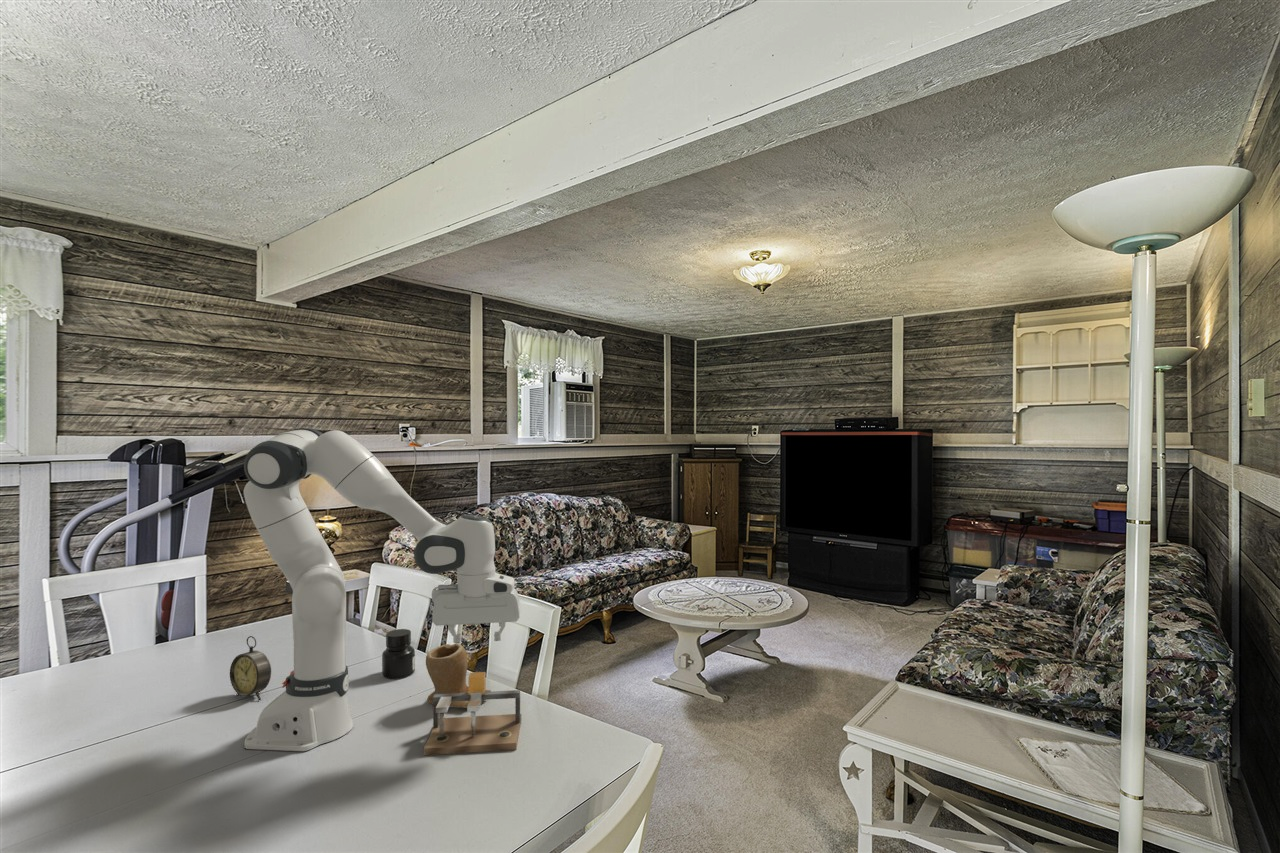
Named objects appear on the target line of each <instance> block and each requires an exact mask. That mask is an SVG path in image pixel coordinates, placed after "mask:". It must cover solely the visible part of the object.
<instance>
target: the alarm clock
mask: <svg viewBox="0 0 1280 853" xmlns="http://www.w3.org/2000/svg"><path fill="white" fill-rule="evenodd" d="M250 638H251V639H253V640H254V646H252V645H251V646H250V645H249V639H250ZM246 644H247V647H248V649H249V650H248V652H244V653H240V654H238V655H236V656H235V658H234V659H233V660H232V662H231V663H230V668H229V680H230V681H229V682H230V684H231V686H232V689H233V691H234V692H236V693H235V694H236V695H235V696H237V694H239V695H238V696H241V697H249V696H251V695H255V696H256V698H257V700H258V701H261V696H260V693H261V692H262V691H263V690H265V689H266V688H267V686H268V685H269V683H270V680H271V677H272V666H271V663H270V660H269V658H268V657H267V655H266V654H264V653H263V652H262V651H260V650H254V648H256V647H257V639H256V638H255V637H254V636H253V635H249V636H248V637H247V639H246ZM259 692H260V693H259Z"/></svg>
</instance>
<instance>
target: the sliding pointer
mask: <svg viewBox="0 0 1280 853" xmlns="http://www.w3.org/2000/svg"><path fill="white" fill-rule="evenodd" d="M486 675H487V674H486V671H476V672H470V673H469V676H468V687H469V695H471V698H470V701H469V704H468V706H467V708H466V710H467V711H466V712H467V713H469V712H470V717H471V735H472V736H473V735H475V734H476V716H477V715H476V712H479V710H480V707H481V705H482V703H481V701H482V694H484V692H485V690H487V689H486V688H487V687H486V680H487V679H486V677H487V676H486Z"/></svg>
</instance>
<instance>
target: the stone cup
mask: <svg viewBox="0 0 1280 853" xmlns="http://www.w3.org/2000/svg"><path fill="white" fill-rule="evenodd" d="M425 666H426V670H427V673H428V675H429V678H430V679H431V682H432V684H433V686H434V687H433V688H434V691H432V692H431V693H430V694H429V695H428V696H427V698H426V699H427V700H426V701H427V702H429V703H430V704H432V705H433V697H434V695H435V694H453V693H469V685H467V683H466V682H467V674H468V673H467V671H468V654H467V650H466V649H465V647H464V646H463V645H462V644H460V643H453V644H442V645H439V646H437V647H435V648H432V649H431V650H430V651H429V652H428V653H427V655H426V656H425ZM485 692H492V690H491V689H485ZM485 701H486V700H482V701H481V704H482V703H484V702H485ZM468 704H469V701H452V702H451V704H450V706H449V708H450V707H451V708H460V709H467V706H468Z"/></svg>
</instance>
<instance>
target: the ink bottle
mask: <svg viewBox="0 0 1280 853" xmlns="http://www.w3.org/2000/svg"><path fill="white" fill-rule="evenodd" d="M411 642H412V631H411V630H410V629H407V628H399V629H393V630H389V631H388V632H386V633H385V647H386V648H385V650H384V651H383V652H382V655H381V671H382V672H381V674H382V677H384V679H385V678H386V679H389V680H398V679H403V678H406V677H409V676H411V675H412V674H413V673H415V670H416V654H415V653H416V651H415V648H414V647H413V646H412V645H411V644H412V643H411Z"/></svg>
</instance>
